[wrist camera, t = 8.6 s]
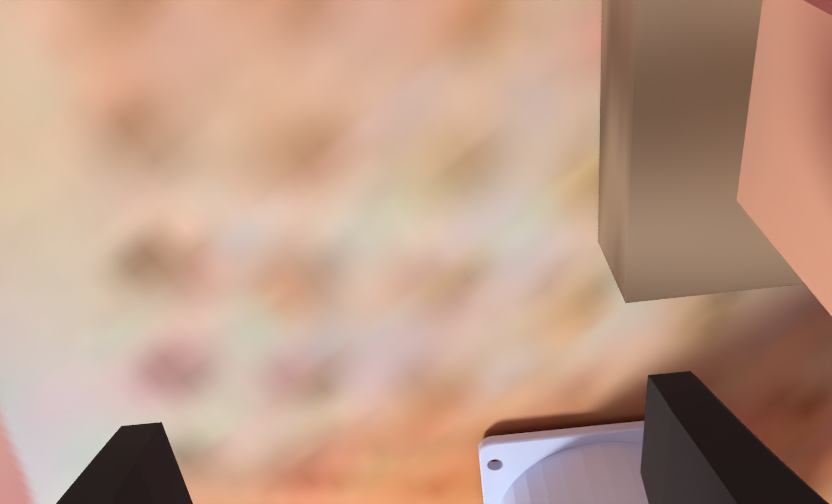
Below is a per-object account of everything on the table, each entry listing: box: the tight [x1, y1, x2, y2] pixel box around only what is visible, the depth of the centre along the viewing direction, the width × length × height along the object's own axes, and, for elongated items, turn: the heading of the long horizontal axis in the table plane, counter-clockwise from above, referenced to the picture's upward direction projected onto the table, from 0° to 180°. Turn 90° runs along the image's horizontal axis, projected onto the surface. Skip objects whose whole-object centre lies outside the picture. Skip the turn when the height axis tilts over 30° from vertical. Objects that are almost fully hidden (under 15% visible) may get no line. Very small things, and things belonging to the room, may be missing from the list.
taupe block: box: [598, 0, 805, 303], centre depth 18 cm, size 10×10×3 cm
